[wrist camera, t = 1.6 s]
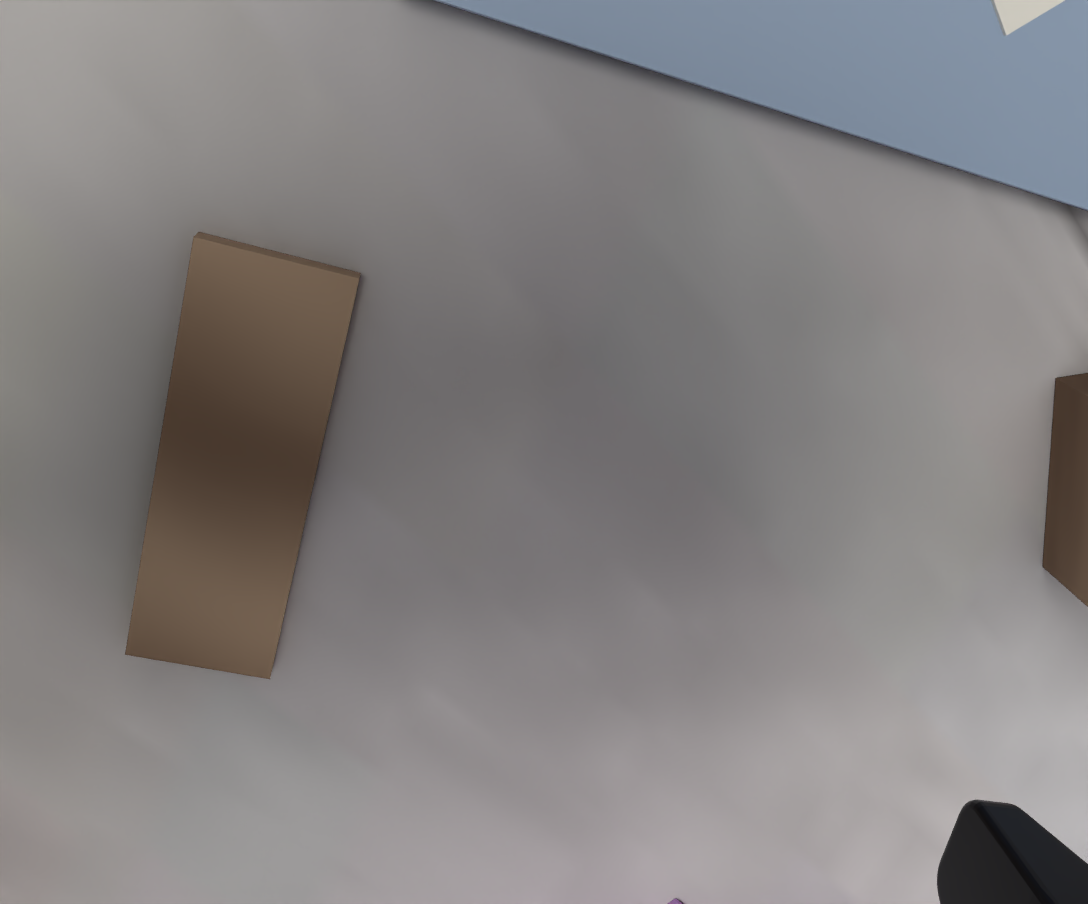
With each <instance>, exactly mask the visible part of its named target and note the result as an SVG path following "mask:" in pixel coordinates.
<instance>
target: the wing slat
mask: <svg viewBox="0 0 1088 904" xmlns="http://www.w3.org/2000/svg"><path fill="white" fill-rule="evenodd" d="M360 274H361V273H359V272H355V271H351V270H347V269H343V268H339V267H335V266H331V265H327V264H323V263H319V262H315V261H311V260H308V259H304V258H300V257H296V256H292V255H288V254H284V253H280V252H276V251H272V250H268V249H264V248H260V247H256V246H253V245H249V244H245V243H241V242H237V241H233V240H229V239H225V238H221V237H217V236H213V235H209V234H205V233H201V232H198V233H197V234H196V235H195V236H194V237H193V243H192V249H191V255H190V261H189V268H188V274H187V280H186V286H185V292H184V298H183V304H182V310H181V316H180V322H179V329H178V335H177V341H176V347H175V353H174V359H173V365H172V371H171V377H170V383H169V390H168V396H167V402H166V408H165V414H164V420H163V426H162V432H161V438H160V444H159V451H158V457H157V463H156V469H155V475H154V481H153V487H152V493H151V499H150V505H149V512H148V518H147V524H146V530H145V536H144V542H143V548H142V554H141V560H140V567H139V573H138V579H137V585H136V591H135V597H134V603H133V609H132V615H131V621H130V628H129V634H128V640H127V646H126V652H125V655H131V656H136V657H142V658H148V659H154V660H160V661H166V662H172V663H178V664H184V665H189V666H195V667H201V668H207V669H213V670H219V671H225V672H231V673H237V674H243V675H248V676H254V677H260V678H266V679H270V676H271V672H272V668H273V663H274V659H275V654H276V650H277V645H278V641H279V637H280V632H281V628H282V623H283V619H284V614H285V610H286V605H287V601H288V596H289V592H290V587H291V583H292V578H293V574H294V569H295V565H296V560H297V556H298V551H299V547H300V542H301V538H302V534H303V529H304V525H305V520H306V516H307V511H308V507H309V502H310V498H311V493H312V489H313V484H314V480H315V475H316V471H317V466H318V462H319V457H320V453H321V448H322V444H323V440H324V435H325V431H326V426H327V422H328V417H329V413H330V408H331V404H332V399H333V395H334V390H335V386H336V381H337V377H338V372H339V368H340V363H341V359H342V354H343V350H344V346H345V341H346V337H347V332H348V328H349V323H350V319H351V314H352V310H353V305H354V301H355V296H356V292H357V287H358V283H359V278H360Z"/></svg>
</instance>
